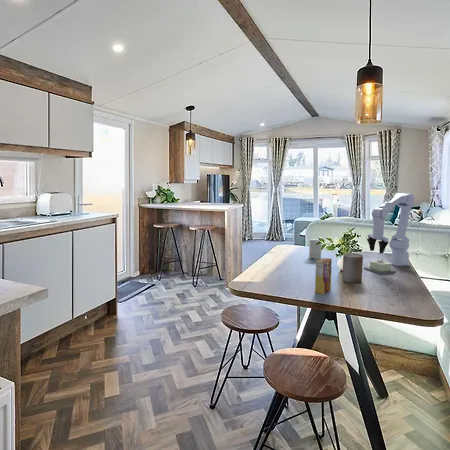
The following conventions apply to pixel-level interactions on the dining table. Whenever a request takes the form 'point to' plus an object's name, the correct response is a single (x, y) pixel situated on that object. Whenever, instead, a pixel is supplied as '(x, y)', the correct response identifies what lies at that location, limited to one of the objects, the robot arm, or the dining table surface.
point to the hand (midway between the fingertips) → (376, 251)
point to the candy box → (323, 275)
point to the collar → (380, 266)
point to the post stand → (379, 271)
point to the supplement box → (315, 249)
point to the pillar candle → (352, 267)
